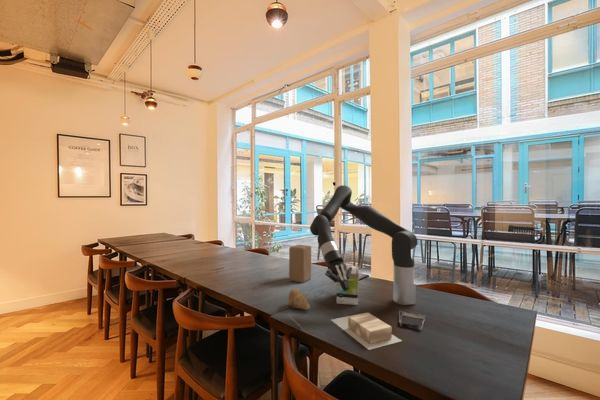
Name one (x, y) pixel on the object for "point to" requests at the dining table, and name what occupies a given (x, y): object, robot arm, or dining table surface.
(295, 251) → the wooden block
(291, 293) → the seashell
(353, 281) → the tea box
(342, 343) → the dining table surface
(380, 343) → the felt mat
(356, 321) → the maple slab
